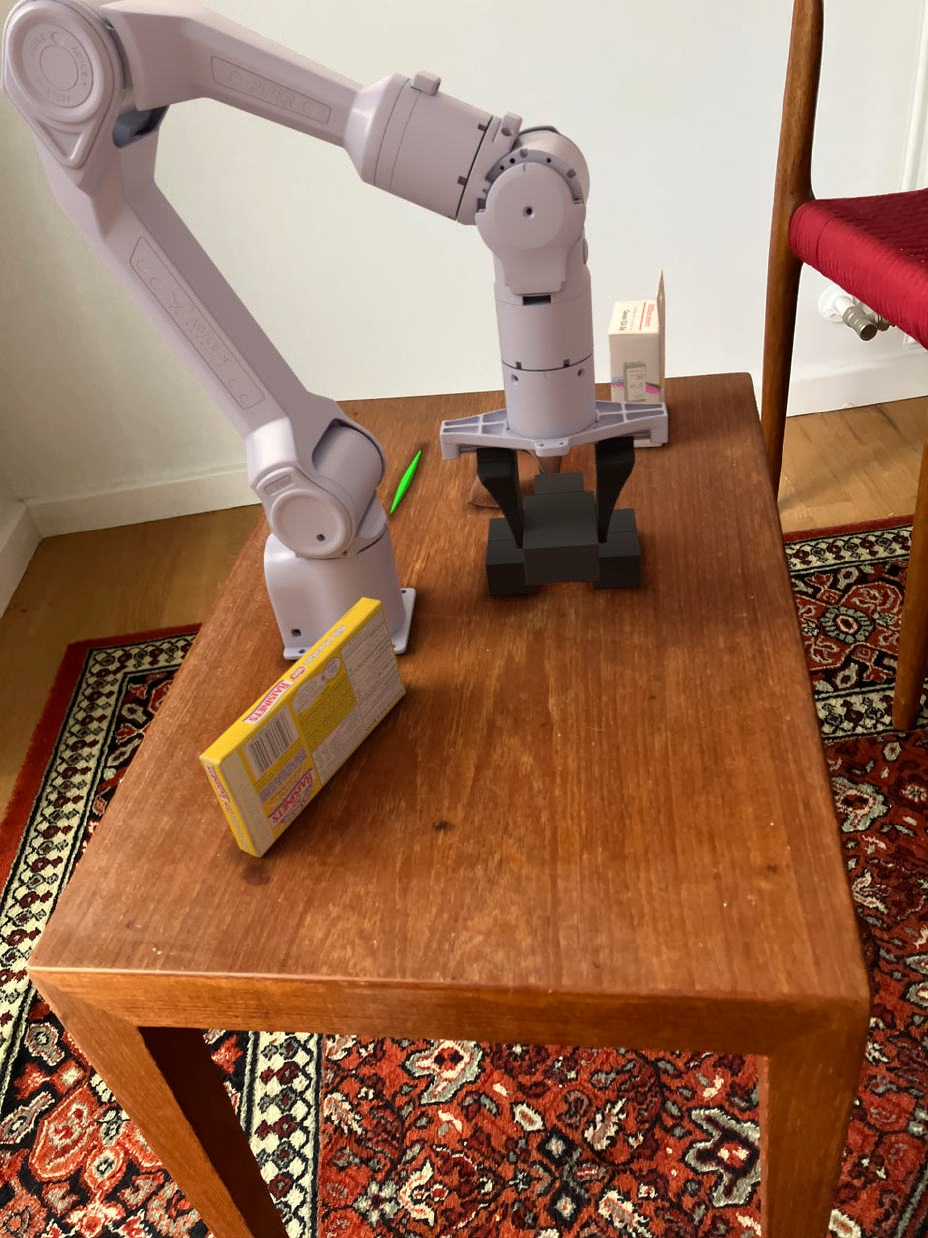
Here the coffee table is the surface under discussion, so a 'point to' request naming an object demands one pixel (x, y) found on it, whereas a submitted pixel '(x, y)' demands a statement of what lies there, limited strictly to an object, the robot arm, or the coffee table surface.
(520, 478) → the sunglasses case
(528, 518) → the pad
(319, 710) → the candy box
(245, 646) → the coffee table surface
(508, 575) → the notch pad
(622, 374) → the ink cartridge box
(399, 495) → the green spindle
